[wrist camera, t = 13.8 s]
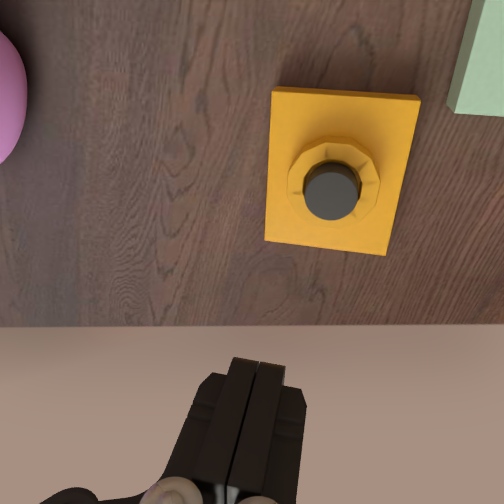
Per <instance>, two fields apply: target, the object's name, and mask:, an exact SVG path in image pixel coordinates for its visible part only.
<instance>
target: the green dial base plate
mask: <svg viewBox="0 0 504 504" xmlns="http://www.w3.org/2000/svg"><path fill="white" fill-rule="evenodd" d="M446 105H447V106H448V107H449V108H450V109H451V110H452V111H453V112H454V113H460V114H474V115H489V116H503V117H504V0H472V4H471V8H470V12H469V16H468V20H467V23H466V27H465V31H464V35H463V39H462V43H461V46H460V50H459V54H458V58H457V62H456V66H455V70H454V73H453V77H452V81H451V85H450V89H449V93H448V97H447V100H446Z"/></svg>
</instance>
